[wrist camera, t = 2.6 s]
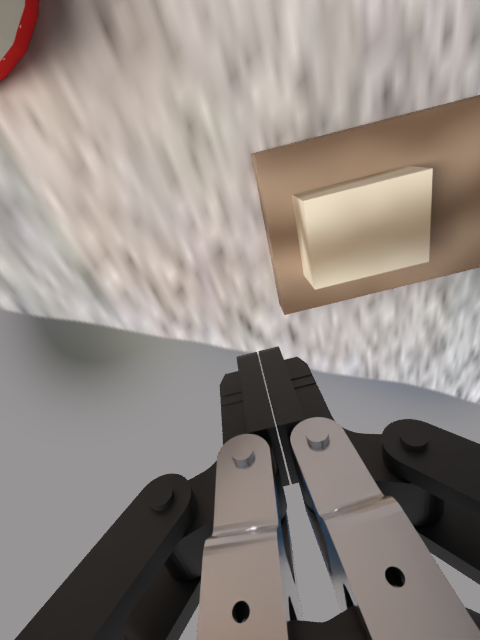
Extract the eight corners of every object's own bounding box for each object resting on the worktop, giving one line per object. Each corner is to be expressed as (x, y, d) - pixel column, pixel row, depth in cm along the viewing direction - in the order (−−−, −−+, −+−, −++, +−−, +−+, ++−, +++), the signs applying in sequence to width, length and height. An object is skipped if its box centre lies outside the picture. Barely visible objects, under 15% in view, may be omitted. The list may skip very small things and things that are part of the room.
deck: (251, 153, 24) (255, 154, 22) (477, 95, 23) (499, 91, 22) (279, 304, 29) (284, 314, 27) (462, 259, 29) (479, 267, 27)
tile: (292, 194, 23) (303, 201, 21) (406, 165, 23) (432, 168, 20) (303, 274, 26) (314, 289, 23) (406, 249, 26) (428, 261, 23)
